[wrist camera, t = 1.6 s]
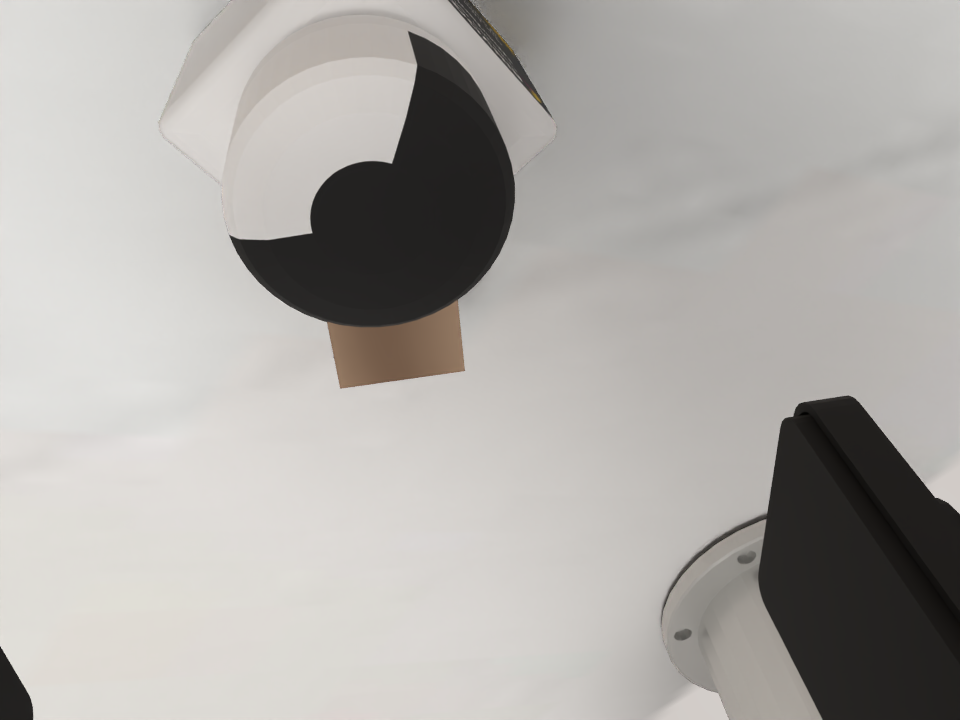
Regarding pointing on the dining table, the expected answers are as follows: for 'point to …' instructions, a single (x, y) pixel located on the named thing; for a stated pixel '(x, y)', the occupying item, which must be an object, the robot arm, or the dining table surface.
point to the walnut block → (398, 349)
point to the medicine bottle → (359, 148)
